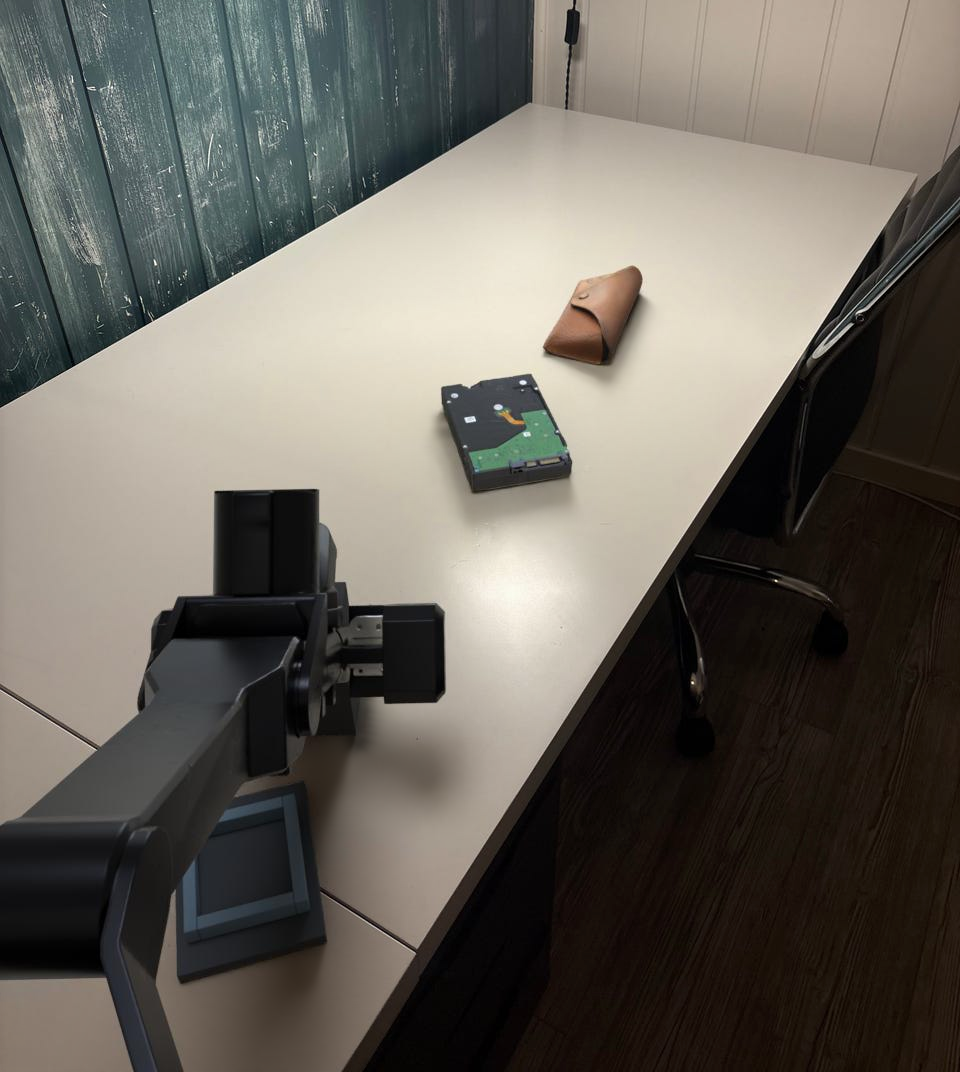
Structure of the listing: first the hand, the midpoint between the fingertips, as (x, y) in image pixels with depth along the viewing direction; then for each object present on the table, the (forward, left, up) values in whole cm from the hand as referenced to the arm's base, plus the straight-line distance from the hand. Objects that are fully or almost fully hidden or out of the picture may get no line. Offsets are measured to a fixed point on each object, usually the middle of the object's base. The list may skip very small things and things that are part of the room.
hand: (321, 641), depth 70 cm
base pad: (-13, +7, -7) cm, 16 cm away
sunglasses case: (+46, -39, -7) cm, 60 cm away
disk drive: (+27, -22, -7) cm, 35 cm away
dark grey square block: (-1, 0, -7) cm, 7 cm away
